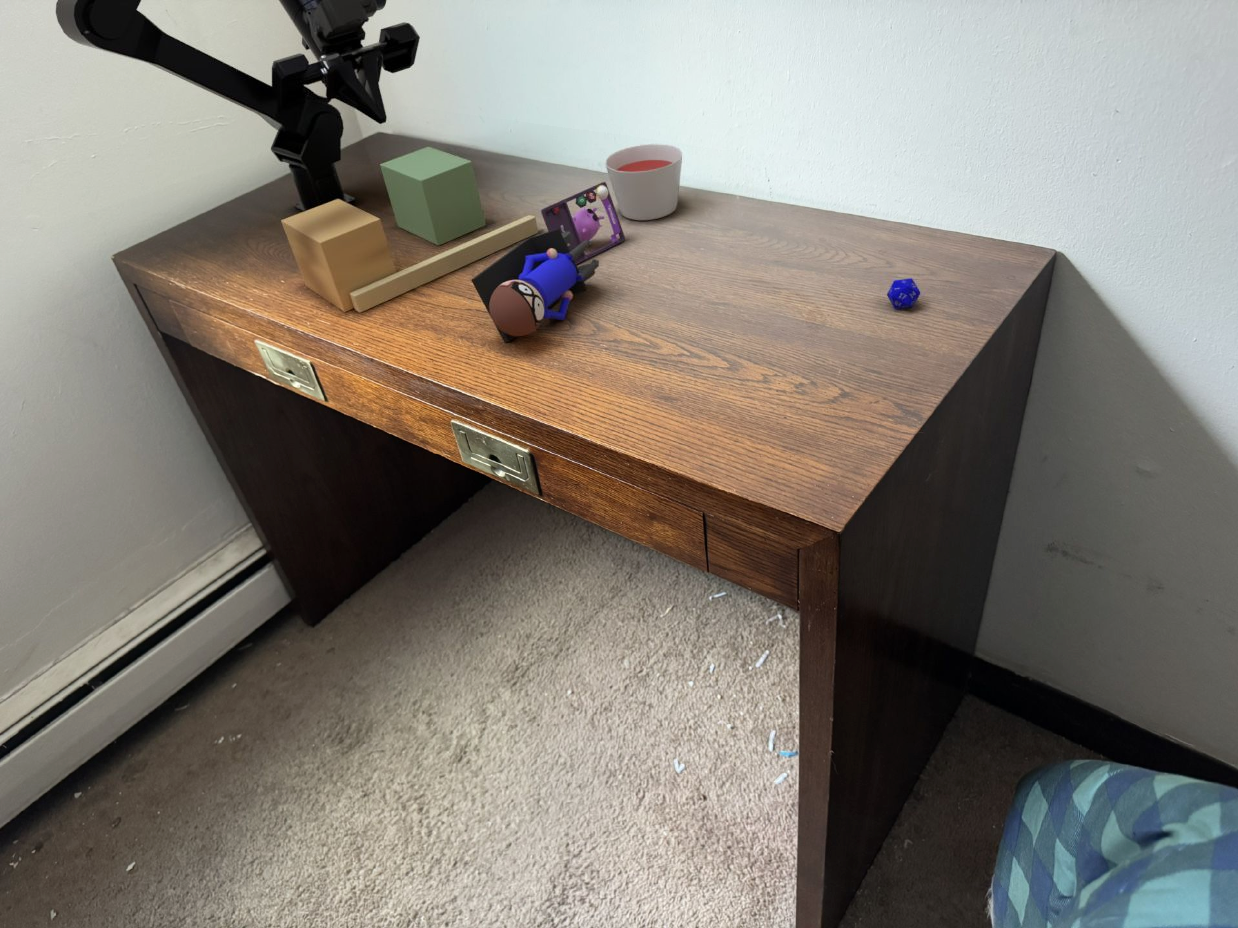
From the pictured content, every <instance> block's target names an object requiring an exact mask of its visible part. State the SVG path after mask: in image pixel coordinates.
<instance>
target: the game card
mask: <svg viewBox="0 0 1238 928" xmlns="http://www.w3.org/2000/svg"><path fill="white" fill-rule="evenodd" d="M595 190H596V191H595ZM597 198H598V199H599V200H600V202H601V203H602V205H603V208H604V210H605V212H606V214H607V217H608V220H609V223H610V225H611V229H612V233H613V234H611V235H610V238H611V241H612V242H611V241H610V242H609V243H607V244H605V245H604V246H601V247H599V248H597V249H595V250H593V251H590V252H588V253H586V252H585V251H584V252H582V253H581V254H580V255H579V256H577V257H576V258H575V260H574V261H575V263H576V265H578V264H580V263H582V262H584V261H586V260H588V259H590V258H592V257H594V256H596V255H598V254H600V253H603V252H605V251H606V250H608V249H610V248H612V247H615V246H616V245H618V244H620V243H622V242H624V241H625V240H626V236H625V233H624V230H623V227H622V224H621V222H620V219H619V216H618V212H617V210H616V207H615V205H614V202H613V198H612V195H611V193H610V189H609V187H608V185H607V182H606V181H603V182H599V183H598V184H595V185H593V186H590V187H588V188H586V189H584V190H582V191H579V192H576V193H575V194H573V195H570V196H567V197H566V198H564V199H562V200H559V201H557V202H555V203H552V204H551V205H548V206H546V207H544V208H542V209H541V210H540V213H541V215H542V218H543V221H544V223H545V226H546V229H547V232H549V231H553V230H556V229H559V230H560V232H561V233H564V232H568V231H569V232H570V233H571V235H572V237H573V240H572V241H571V242H570V243H569V244H567V247H568V249H569V251H570V252H571V251H572V250H573V249H575V248H576V247H577V246H578V245H580V244H581V243H582V242H583V241H585V240H588V241H592V239H593V238H594V237H595V236H596V234H597V233H598V231H599V230H600V229H601V228H602V227H604V225H603V224H601V223H600V220H604V219H605V216H602V215H599V216H598V214H596V211H597V210H598V207H593V208H590V206H588V207H586V206H587V203H589V204H594V203H595V202H597ZM574 200H575V205H577V206H578V207H579V208H580V210H578V211H577V212H576V213H575V214H574V215H573V216H572V214H571V210H570V207H569V205H568V202H571V201H574ZM581 208H582V209H581ZM617 235H618V237H619V238H618V237H617Z"/></svg>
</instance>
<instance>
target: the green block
mask: <svg viewBox="0 0 1238 928" xmlns="http://www.w3.org/2000/svg"><path fill="white" fill-rule="evenodd" d="M379 166H380V167H379V168H380V170H381V173H382V177H383V181H384V184H385V187H386V190H387V194H388V197H389V200H390V204H391V207H392V211H393V215H394V218H395V221H396V224H397V227H398V228H400V229H402V230H404V231H407V232H409V233H411V234H413V235H415V236H417V237H419V238H421V239H424V240H426V241H427V242H429V243H431V244H434V245H436V246H437V247H439V246H441V245H443V244H446V243H448V242H451V241H453V240H455V239H457V238H460V237H462V236H465V235H467V234H470V233H472V232H474V231H477V230H479V229H481V228H483V227H485V226H487V224H486V219H485V215H484V211H483V206H482V202H481V198H480V193H479V188H478V184H477V180H476V176H475V175H476V174H475V170H474V167H473V161H471V160H469V159H466V158H464V157H461V156H457V155H455V154H451V153H448V152H446V151H443V150H440V149H436V148H434V147H432V146H426V147H424V148H421V149H418V150H415V151H411V152H410V153H407V154H404V155H402V156H399V157H396V158H393V159H391V160H388V161H385V162H383V163H380V164H379Z"/></svg>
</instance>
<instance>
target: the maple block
mask: <svg viewBox="0 0 1238 928" xmlns="http://www.w3.org/2000/svg"><path fill="white" fill-rule="evenodd" d="M280 222H281V225H282V227H283V230H284V232H285V235H286V238H287V240H288V243H289V246H290V249H291V251H292V253H293V256H294V259H295V261H296V264H297V267H298V270H299V271H300V275H301V277H302V279H303V282H304V285H305V287H306V288H308V289H309V290H311V291H312V292H313V293H315V294H316V295H318V296H320V297H321V298H322V299H324V300H325V301H327V302H329V303H330V304H332V305H333V306H335V307H336V308H338V309H339V310H341V311H342V312H344V313H347V312H348V311H350V310H353V309H355V308H354V305H353V302H352V300H351V297H350V293H351V292H354V291H356V290H358V289H361V288H363V287H365V286H368V285H370V284H372V283H374V282H377V281H379V280H381V279H384V278H386V277H388V276H390V275H393V274H395V273H397V270H396V266H395V263H394V260H393V256H392V253H391V250H390V247H389V243H388V240H387V236H386V234H385V230H384V227H383V223H382V220H381V219H380V218H379V217H377V216H375V215H374V214H371V213H369V212H367V211H364V210H363V209H361V208H359V207H357V206H354V205H352V204H348V203H346V202H344V201H342V200H340V199H336V200H334V201H331V202H328V203H326V204H323V205H320V206H318V207H315V208H313V209H310V210H307V211H305V212H299V213H297V214H294V215H291V216H289V217H286V218H283V219H281V220H280Z"/></svg>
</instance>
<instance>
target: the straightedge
mask: <svg viewBox="0 0 1238 928" xmlns="http://www.w3.org/2000/svg"><path fill="white" fill-rule="evenodd" d="M538 233H539V229H538V222H537V218H536V216H534V215H531V214H529V215H525V216H524V217H522V218H519V219H517V220H515V221H513V222H510V223H508V224H506V225H503V226H501V227H498V228H496V229H494V230H492V231H489V232H487V233H485V234H483V235H480V236H477V237H475V238H473V239H471V240H469V241H466V242H464V243H462V244H459V245H458V246H455V247H452V248H450V249H448V250H446V251H444V252H440V253H439V254H436V255H434V256H432V257H429V258H427V259H425V260H423V261H421V262H418V263H416V264H413V265H411V266H409V267H406V268H405V269H402V270H400V271H396V273H395V274H393V275H390V276H388V277H386V278H384V279H381V280H379V281H377V282H374V283H372V284H370V285H368V286H365V287H363V288H361V289H358V290H356V291H354V292H351V293H350V297H351V300H352V302H353V305H354V308H353V309H354V310H355V311H357V312H358V313H359V314H361V313H363V312H365V311H368V310H369V309H372V308H374V307H376V306H378V305H381V304H383V303H385V302H387V301H390V300H391V299H394V298H396V297H398V296H401V295H403V294H405V293H407V292H410V291H412V290H415V289H416V288H418V287H421V286H422V285H425V284H428V283H430V282H431V281H435V280H437V279H439V278H441V277H444V276H445V275H447V274H450V273H451V272H454V271H456V270H459V269H461V268H463V267H465V266H468V265H469V264H472V263H474V262H477V261H478V260H480V259H483V258H485V257H487V256H490V255H492V254H494V253H496V252H498V251H500V250H504V249H505V248H508V247H510V246H512V245H514V244H517V243H518V242H521V241H524V240H526V239H527V238H530V237H533V236H535V235H536V234H538Z"/></svg>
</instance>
